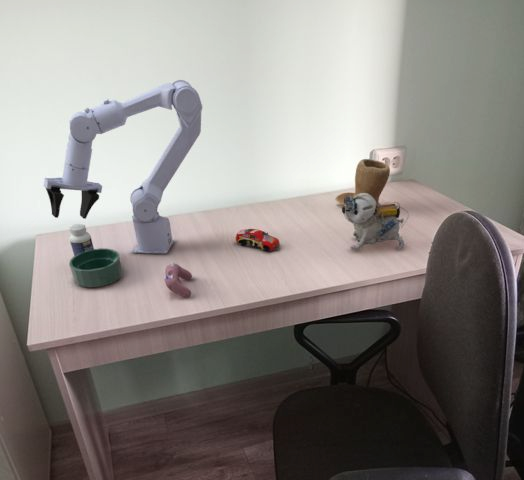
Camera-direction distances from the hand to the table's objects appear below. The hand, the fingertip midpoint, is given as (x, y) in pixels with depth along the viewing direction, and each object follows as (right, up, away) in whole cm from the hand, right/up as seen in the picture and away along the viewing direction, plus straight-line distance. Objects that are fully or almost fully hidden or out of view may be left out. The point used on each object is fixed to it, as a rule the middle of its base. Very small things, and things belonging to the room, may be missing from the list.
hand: (69, 216), depth 128 cm
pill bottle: (+2, -11, +6) cm, 12 cm away
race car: (+49, -6, +10) cm, 50 cm away
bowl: (+8, -16, -2) cm, 18 cm away
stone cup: (+82, +10, +29) cm, 88 cm away
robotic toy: (+80, -6, +7) cm, 81 cm away
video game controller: (+30, -20, -8) cm, 37 cm away
